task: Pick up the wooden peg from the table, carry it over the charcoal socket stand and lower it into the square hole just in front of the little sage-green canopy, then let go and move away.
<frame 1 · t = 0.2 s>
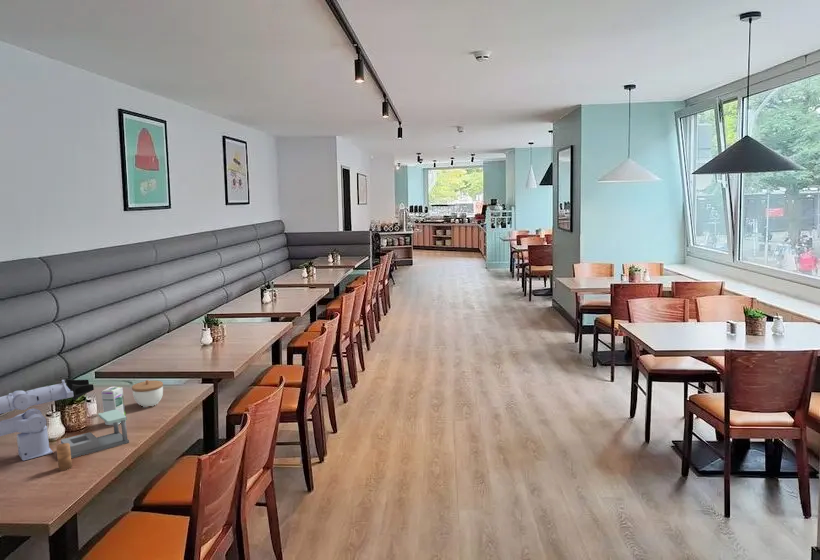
hand: (91, 384, 233), 21 cm above the table, tool horizontal, fingers open, 7 cm apart
socket stand: (94, 446, 229), on the table
syrup box: (115, 423, 253), on the table
lidded bowl: (149, 405, 274), on the table
peg: (65, 467, 211), on the table
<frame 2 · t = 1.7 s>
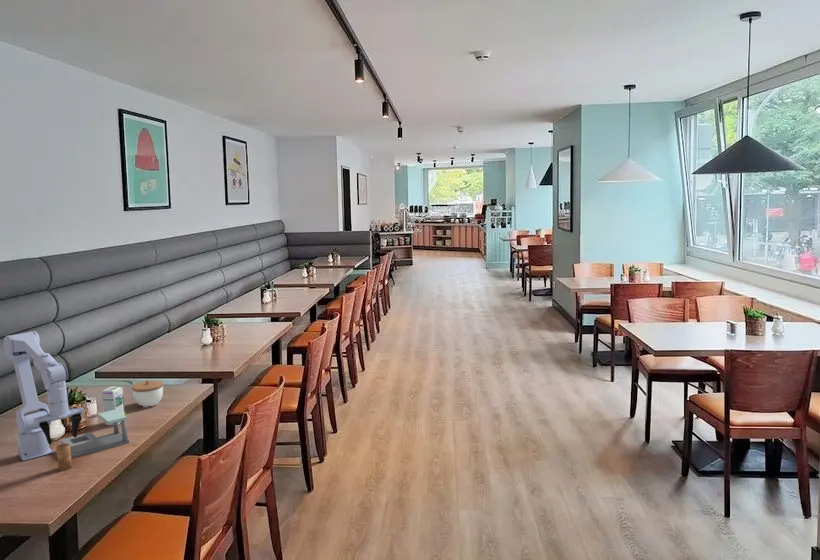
hand: (62, 439, 210), 10 cm above the table, tool pointing down, fingers open, 7 cm apart
nothing on the table moved.
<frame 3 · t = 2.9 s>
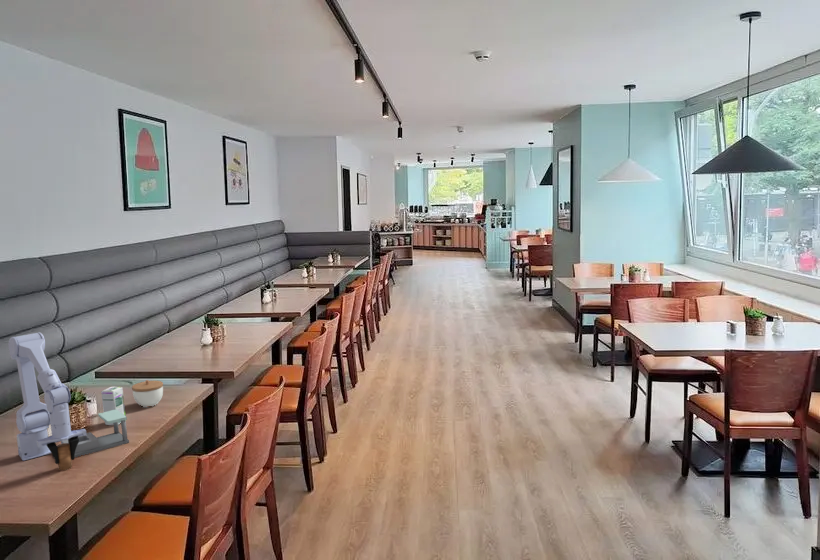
hand: (64, 461, 211), 2 cm above the table, tool pointing down, fingers closed on peg, 4 cm apart
peg: (65, 467, 211), on the table, touching gripper
everything else where it was.
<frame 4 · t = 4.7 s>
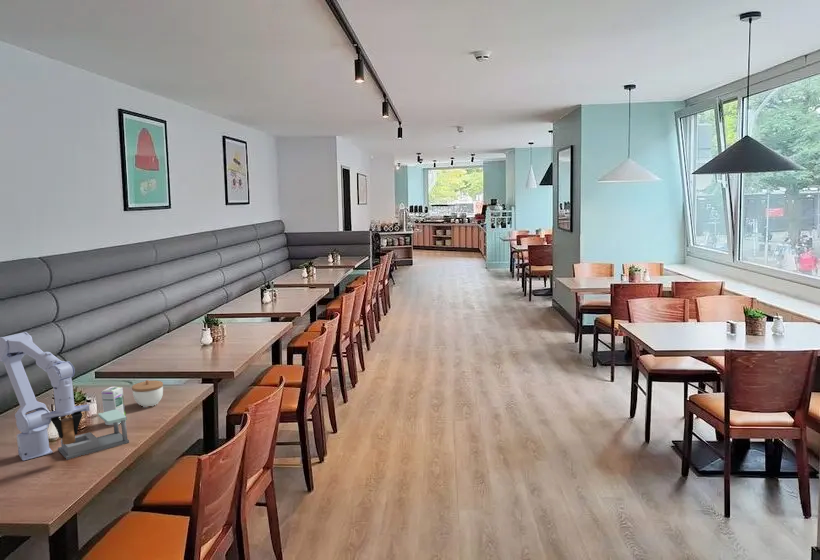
hand: (68, 435, 215), 9 cm above the table, tool pointing down, fingers closed on peg, 4 cm apart
peg: (68, 442, 216), point 7 cm above the table, touching gripper
everything else where it was.
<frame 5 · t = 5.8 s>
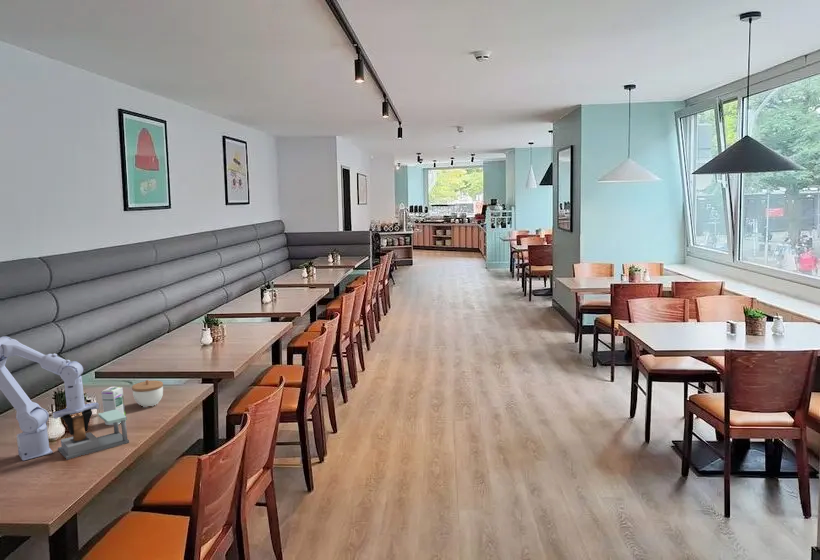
hand: (78, 432, 225), 7 cm above the table, tool pointing down, fingers closed on peg, 4 cm apart
peg: (79, 438, 225), point 4 cm above the table, touching gripper
everything else where it was.
when the fingers open (5 cm above the table, at t = 6.5 s): peg drops 1 cm, resting on socket stand.
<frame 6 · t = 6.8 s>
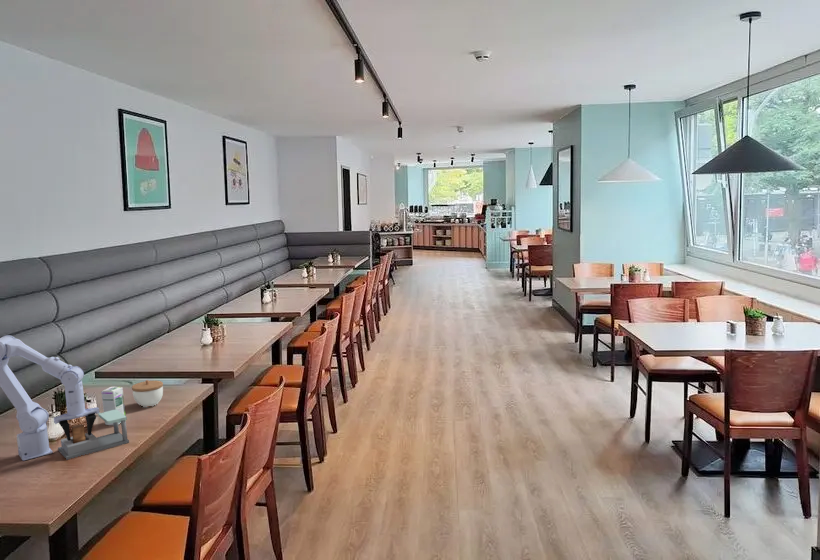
hand: (79, 437, 225), 5 cm above the table, tool pointing down, fingers open, 6 cm apart
peg: (80, 447, 226), point 1 cm above the table, touching socket stand
everything else where it was.
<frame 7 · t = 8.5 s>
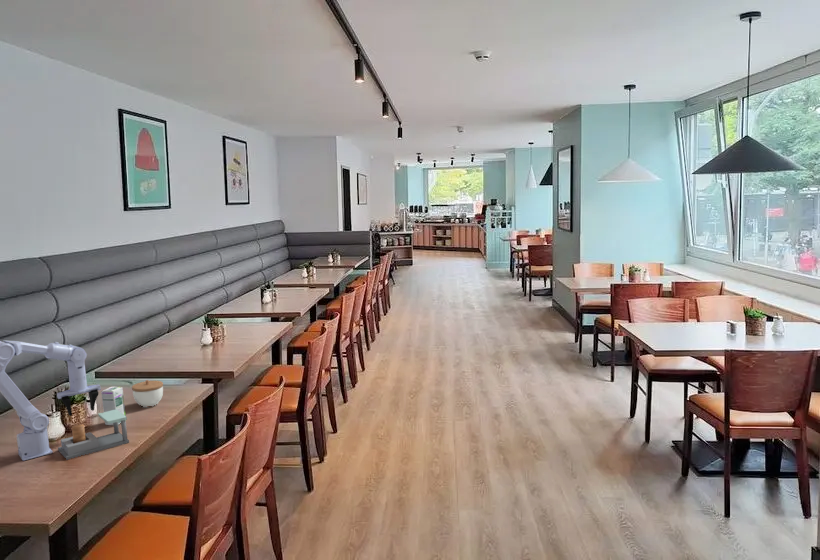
hand: (81, 412, 235), 10 cm above the table, tool pointing down, fingers open, 7 cm apart
nothing on the table moved.
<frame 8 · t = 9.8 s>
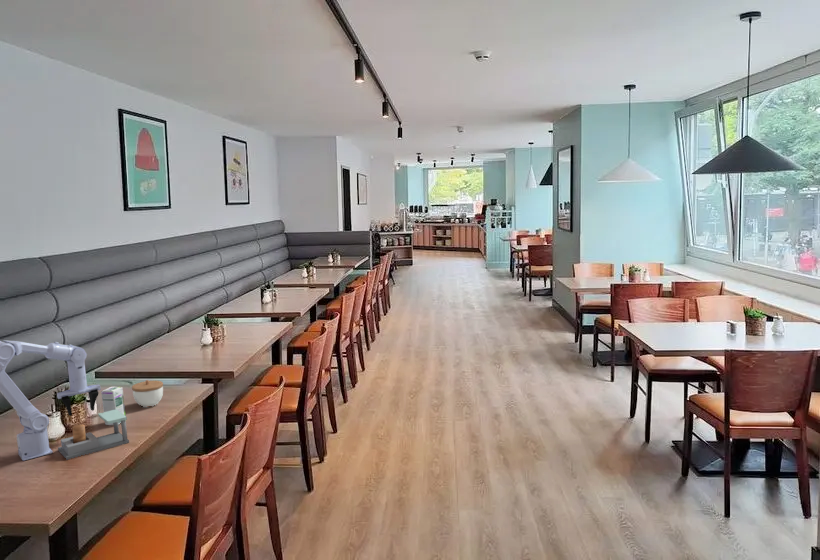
hand: (81, 412, 235), 10 cm above the table, tool pointing down, fingers open, 7 cm apart
nothing on the table moved.
at the end: peg 0.2 cm from the target spot on the socket stand, point 1.1 cm above the socket stand's base; peg tilted 2°; the gripper is holding nothing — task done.
